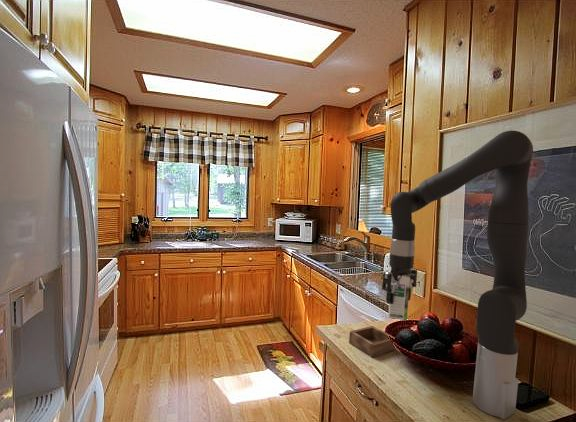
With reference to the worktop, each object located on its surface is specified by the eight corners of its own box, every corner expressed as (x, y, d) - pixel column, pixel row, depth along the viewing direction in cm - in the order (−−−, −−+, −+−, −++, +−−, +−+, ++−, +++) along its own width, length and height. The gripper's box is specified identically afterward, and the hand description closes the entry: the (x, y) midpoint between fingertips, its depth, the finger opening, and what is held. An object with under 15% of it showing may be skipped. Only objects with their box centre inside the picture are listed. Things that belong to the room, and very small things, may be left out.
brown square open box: (395, 350, 120) (396, 338, 120) (372, 357, 114) (373, 345, 114) (371, 336, 130) (372, 325, 130) (349, 343, 124) (349, 331, 124)
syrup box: (388, 318, 107) (391, 274, 106) (388, 312, 112) (391, 270, 111) (406, 321, 105) (410, 276, 104) (405, 314, 111) (409, 272, 110)
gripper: (396, 256, 100) (392, 308, 101) (425, 253, 108) (422, 302, 109) (377, 252, 106) (374, 301, 108) (406, 249, 114) (403, 295, 115)
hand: (398, 301), depth 108 cm, fingers closed on syrup box, 8 cm apart
